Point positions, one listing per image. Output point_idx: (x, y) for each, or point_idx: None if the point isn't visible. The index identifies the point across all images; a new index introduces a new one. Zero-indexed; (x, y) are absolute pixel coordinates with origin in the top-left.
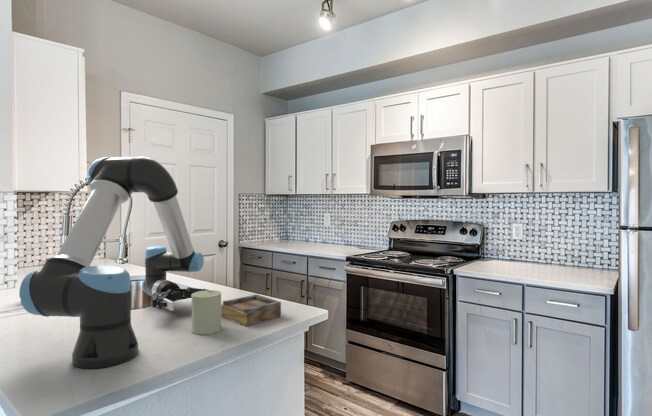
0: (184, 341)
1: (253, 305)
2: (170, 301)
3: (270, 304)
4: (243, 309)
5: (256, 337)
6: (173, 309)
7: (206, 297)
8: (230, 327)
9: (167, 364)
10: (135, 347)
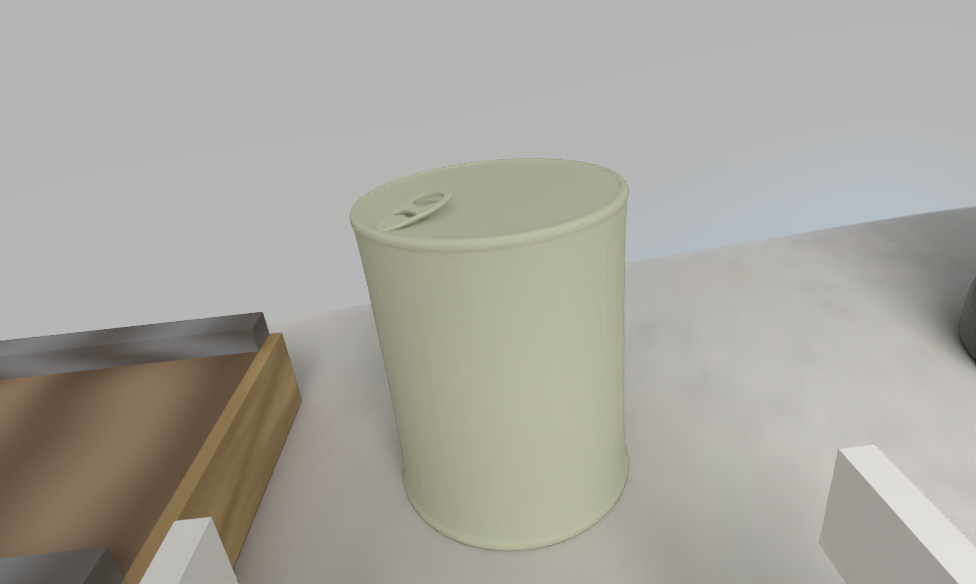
0: (698, 371)
1: (28, 442)
2: (905, 499)
3: (59, 335)
4: (185, 399)
5: None
6: (821, 532)
7: (536, 160)
8: (370, 424)
9: (777, 257)
10: (971, 285)
